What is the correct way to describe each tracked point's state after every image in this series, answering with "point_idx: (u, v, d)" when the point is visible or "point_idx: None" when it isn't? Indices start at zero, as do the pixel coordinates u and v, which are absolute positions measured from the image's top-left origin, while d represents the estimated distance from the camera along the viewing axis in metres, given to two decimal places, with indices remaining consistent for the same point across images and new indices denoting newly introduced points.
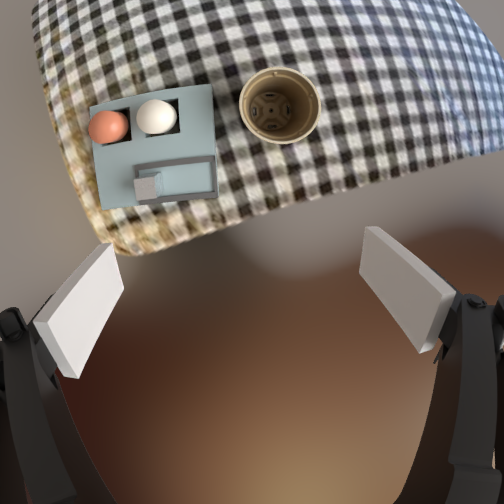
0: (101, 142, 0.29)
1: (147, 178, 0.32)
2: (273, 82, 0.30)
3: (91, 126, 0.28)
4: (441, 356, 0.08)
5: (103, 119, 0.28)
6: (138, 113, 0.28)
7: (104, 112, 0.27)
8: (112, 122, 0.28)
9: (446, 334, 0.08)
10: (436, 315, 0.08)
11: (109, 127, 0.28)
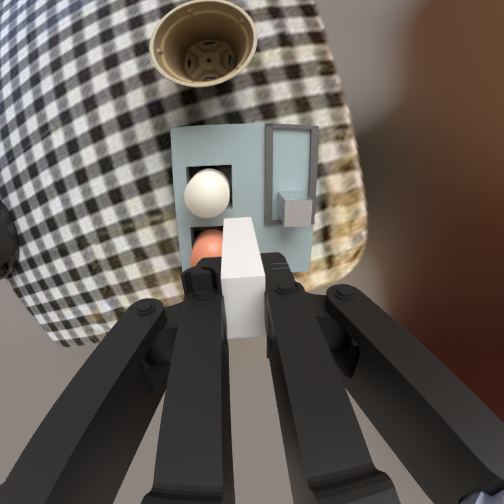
0: None
1: (286, 208, 0.27)
2: (171, 55, 0.21)
3: None
4: (269, 352, 0.09)
5: None
6: (200, 215, 0.27)
7: (192, 259, 0.29)
8: (207, 249, 0.28)
9: (265, 320, 0.10)
10: (246, 298, 0.10)
11: (213, 252, 0.28)
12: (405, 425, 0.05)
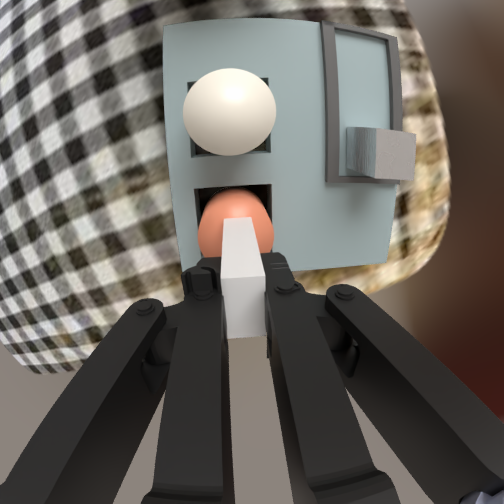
0: (270, 241, 0.16)
1: (377, 144, 0.13)
2: None
3: None
4: (269, 352, 0.09)
5: (218, 235, 0.16)
6: (215, 150, 0.12)
7: (202, 233, 0.16)
8: (229, 213, 0.15)
9: (265, 320, 0.10)
10: (246, 298, 0.10)
11: None
12: (405, 425, 0.05)
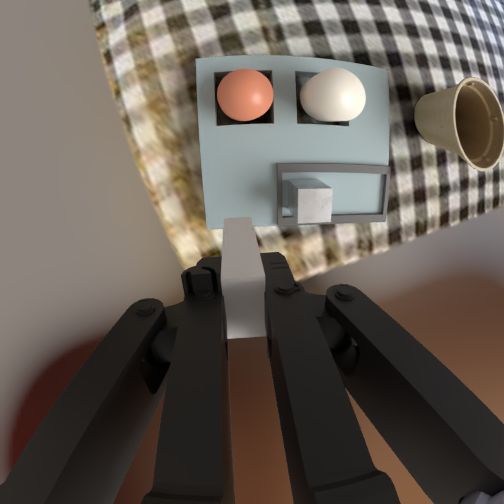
0: (241, 118, 0.20)
1: (321, 190, 0.21)
2: None
3: (223, 89, 0.19)
4: (269, 352, 0.09)
5: (247, 82, 0.18)
6: (316, 82, 0.17)
7: (249, 72, 0.18)
8: (264, 90, 0.19)
9: (265, 320, 0.10)
10: (246, 298, 0.10)
11: (258, 97, 0.19)
12: (405, 425, 0.05)
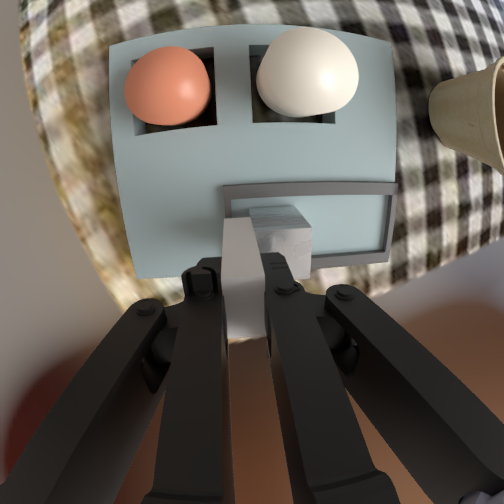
0: (158, 121, 0.12)
1: (294, 231, 0.13)
2: None
3: (132, 82, 0.11)
4: (269, 352, 0.09)
5: (167, 66, 0.11)
6: (271, 51, 0.09)
7: (171, 50, 0.11)
8: (192, 74, 0.11)
9: (265, 320, 0.10)
10: (246, 298, 0.10)
11: (184, 86, 0.12)
12: (405, 425, 0.05)
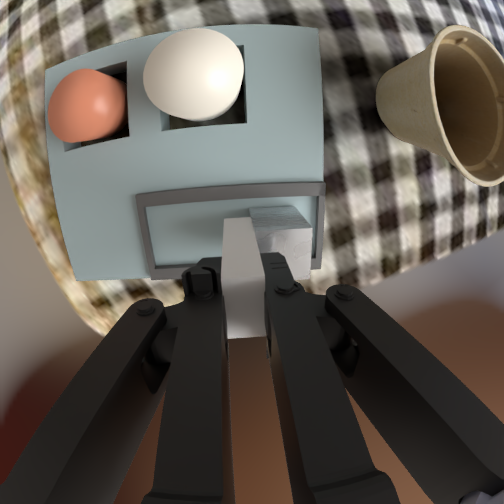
0: (73, 139, 0.12)
1: (294, 231, 0.13)
2: (437, 55, 0.11)
3: (53, 105, 0.11)
4: (269, 352, 0.09)
5: (78, 88, 0.11)
6: (149, 62, 0.09)
7: (81, 72, 0.10)
8: (97, 93, 0.11)
9: (265, 320, 0.10)
10: (246, 298, 0.10)
11: (91, 105, 0.11)
12: (405, 425, 0.05)
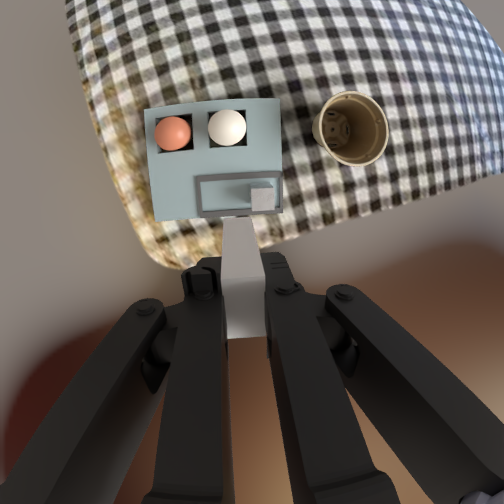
0: (169, 149, 0.32)
1: (266, 189, 0.33)
2: (341, 103, 0.31)
3: (158, 131, 0.31)
4: (269, 352, 0.09)
5: (172, 125, 0.30)
6: (210, 122, 0.29)
7: (173, 118, 0.30)
8: (182, 129, 0.31)
9: (265, 320, 0.10)
10: (246, 298, 0.10)
11: (179, 134, 0.31)
12: (405, 425, 0.05)
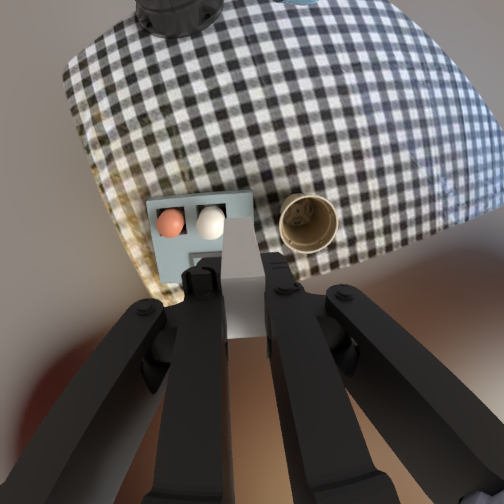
0: (168, 237, 0.44)
1: None
2: (302, 196, 0.44)
3: (158, 223, 0.43)
4: (269, 352, 0.09)
5: (169, 219, 0.43)
6: (197, 222, 0.42)
7: (169, 214, 0.43)
8: (177, 223, 0.44)
9: (265, 320, 0.10)
10: (246, 298, 0.10)
11: (175, 226, 0.44)
12: (405, 425, 0.05)
